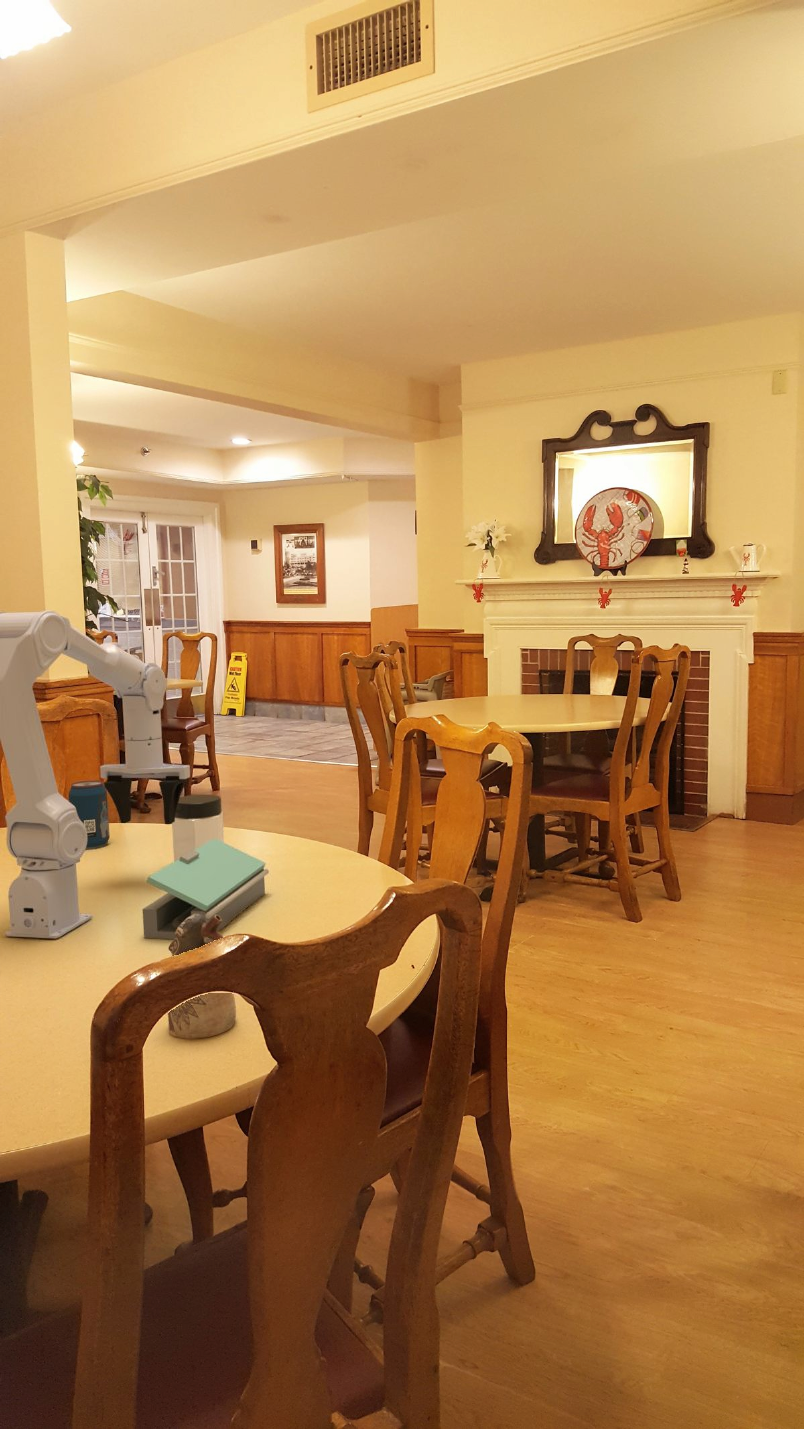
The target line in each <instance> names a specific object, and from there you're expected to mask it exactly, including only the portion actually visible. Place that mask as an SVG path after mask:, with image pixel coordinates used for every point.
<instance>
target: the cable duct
mask: <svg viewBox="0 0 804 1429" xmlns="http://www.w3.org/2000/svg"><path fill="white" fill-rule="evenodd" d="M264 868H265V867H264ZM264 868H263V869H262V870H260V871H259V872H257V873H256V874H255V875H253V876H252V877H251V878H249V879H248V880H247V881H245V882H244V883H243V884H241V885H240V886H239V887H237V888H236V889H235V890H233V891H232V892H230V893H229V894H228V895H226V896H225V897H224V898H222V899H221V900H220V901H218V902H217V903H216V904H214V905H213V906H212V907H210V908H209V909H208V910H206V911H204V910H202V909H200V908H198V907H196V906H194V905H192V904H190V903H188V902H186V901H184V900H182V899H180V898H178V897H176V896H174V895H172V894H170V893H168V892H166V893H165V894H164V895H162V896H160V897H159V898H158V899H156V900H154V901H153V902H151V903H150V904H148V905H147V906H145V907H144V908H142V922H143V923H142V924H143V938H144V939H154V940H155V939H158V940H159V939H160V940H174V939H175V932H176V930H177V928H178V927H179V926H180V925H181V923H182V922H183V921H184V920H186V919H187V918H188V917H190V916H192V915H194V914H200V915H202V916H203V917H204V919H205V921H206V923H207V922H208V921H209V920H210V919H211V918H212V917H213V916H214V915H218V916H220V918H221V919H222V922H221V923H220V925H219V927H218V928H217V931H218V932H220V931H221V930H222V929H224V928H225V927H226V926H227V925H228V924H230V923H231V922H232V921H233V920H234V919H236V918H237V917H238V916H239V915H240V914H242V913H243V912H244V911H246V910H247V909H248V908H249V907H251V904H252V905H253V904H254V903H255V902H257V901H258V900H259V899H260V898H262V896H264V895H265V894H266V890H265V888H266V886H265V884H266V883H265V876H267V875H268V874H269V873H270V870H269V869H268V868H265V869H264ZM248 906H249V907H248ZM247 907H248V908H247ZM246 908H247V909H246ZM243 910H244V911H243ZM241 912H242V913H241ZM238 914H239V915H238ZM236 916H237V917H236ZM235 917H236V918H235ZM231 920H232V921H231ZM230 921H231V922H230ZM224 926H225V927H224Z"/></svg>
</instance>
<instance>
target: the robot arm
mask: <svg viewBox="0 0 804 1429" xmlns="http://www.w3.org/2000/svg"><path fill="white" fill-rule="evenodd" d="M61 655H65V656H67V657H69V658H71V659H73V660H75V661H78V662H80V663H82V664H85V665H86V666H87V670H88V673H89V674H90V676H91V677H93V678H95V679H97V680H98V681H100V682H102V683H103V684H106V685H108V686H110V687H112V688H113V691H114V693H115V695H116V696H117V698H118V699H122V713H123V714H122V715H123V716H122V717H123V730H124V733H123V734H124V747H125V748H124V749H125V750H124V752H125V763H120V764H118V763H117V764H115V763H114V764H103V765H101V766H100V767H99V768H100V778H101V779H106V781H103V785H104V787H105V789H106V790H107V794H109V796H110V797H111V799H112V802H113V803H114V806H115V808H116V812H117V814H118V817H119V821H120V823H121V824H126V823H129V822H131V820H132V819H131V818H132V807H131V792H132V791H131V790H132V783H133V779H134V778H135V779H140V778H141V779H163V780H161V781H159V782H158V783H159V784H158V785H159V787H160V788H159V789H160V791H161V792H160V793H161V796H162V803H163V820H164V824H165V825H172V823H173V822H175V814H176V809H177V805H178V801H179V798H180V797H182V792H183V790H184V788H185V786H186V784H187V782H188V780H187V779H188V778H190V777H191V767H190V765H189V764H186V765H185V764H174V763H171V764H170V763H164V758H163V757H164V756H163V738H162V737H163V736H162V735H163V734H162V718H161V717H162V715H161V714H162V713H161V710H162V709H163V708H164V707H163V706H164V696H165V694H166V691H167V689H168V688H167V687H168V679H167V678H166V676H165V675H166V674H165V672H164V670H163V669H162V668H161V667H160V666H159V665H158V664H156V663H154V662H145V663H144V661H142V660H141V659H140V656H138V655H137V654H130V653H128V652H127V651H125V650H124V649H122V645H121V643H118V642H111V641H110V642H105V643H100V644H99V643H98V642H96V640H93V639H92V638H90V637H89V636H87V635H86V634H85V633H83V632H82V631H81V630H79V629H77V628H76V627H74V626H73V625H71V621H70V620H69V618H68V617H66V616H64V615H60V614H59V613H58V612H56V611H54V610H50V609H49V610H42V611H34V612H33V611H28V612H24V611H23V612H6V611H0V743H1V747H2V751H3V754H4V758H5V762H6V766H7V770H8V773H9V774H8V775H9V777H10V781H11V784H12V787H13V793H14V796H15V799H16V803H15V804H14V805H13V806H12V807H11V808H10V809H9V810H8V812H7V813H6V814H5V817H4V818H5V821H6V839H5V840H6V848H7V850H8V853H9V854H10V855H11V856H12V857H13V858H15V859H16V864H17V866H20V867H21V869H20V873H19V875H18V876H17V877H16V878H15V879H14V880H13V881H12V882H11V884H10V886H9V889H8V895H7V896H8V907H9V908H8V910H9V923H10V929H9V930H8V931H5V936H6V937H18V938H19V937H20V938H37V939H59V938H60V937H61V936H62V937H63V936H64V935H65V934H67V933H68V932H70V931H71V930H74V929H75V928H78V927H79V926H80V925H82V924H84V923H86V922H87V921H89V920H90V919H92V918H93V914H90V913H80V906H79V892H78V891H79V890H78V888H79V887H78V874H77V864H78V863H80V862H81V858H82V856H83V855H84V853H85V852H86V850H87V849H86V846H87V831H86V828H85V826H84V824H83V823H82V821H81V820H80V819H79V817H78V815H77V811H76V808H75V806H74V805H72V804H71V803H70V802H69V799H67V798H65V797H64V796H63V795H62V794H60V793H59V790H58V785H57V781H56V777H55V773H54V768H53V766H52V761H51V756H50V753H49V749H48V746H47V741H46V738H45V733H44V728H43V725H42V721H41V717H40V713H39V709H38V706H37V700H36V698H35V693H34V690H33V686H34V684H35V683H36V680H37V679H38V678H39V677H42V675H44V673H45V672H46V671H47V670H48V669H49V668H51V666H52V664H53V663H54V662H55V661H56V660H57V659H58V658H59V657H60V656H61Z"/></svg>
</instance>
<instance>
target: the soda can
mask: <svg viewBox="0 0 804 1429" xmlns="http://www.w3.org/2000/svg"><path fill="white" fill-rule="evenodd" d="M70 786H71V787H70V788H69V791H68V801H69V802H70V803H71V804H72V805H74V806H75V808H76V811H77V815H78V817H79V819H80V820H81V821H82V823H83V824H84V826H85V828H86V831H87V846H86V849H85V850H93V849H100V848H103V847H106V846H107V844H108V842H109V839H111V838H110V836H111V835H110V823H109V821H110V820H109V806H108V805H109V803H108V791H107V790H106V788H105V787H104V781H102V780H82V781H76V782H72V783H71V785H70Z"/></svg>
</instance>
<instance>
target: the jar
mask: <svg viewBox="0 0 804 1429" xmlns="http://www.w3.org/2000/svg"><path fill="white" fill-rule="evenodd" d="M171 828H172V829H171V830H172V849H173V862H175V861H176V860H178V859H180V857H181V856H182V855H184V854H186V853H187V852H189V851H191V850H195V849H197V848H199V847H201V846H202V845H204V844H206V843H207V842H209V841H211V840H213V839H214V838H215V839H217V840H219V841H221V842H223V843H225V836H224V835H225V834H224V831H225V830H224V812H223V810H222V798H221V796H220V795H215V794H191V795H184V796H180V798H179V801H178V805H177V809H176V814H175V822H173V823H171Z"/></svg>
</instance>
